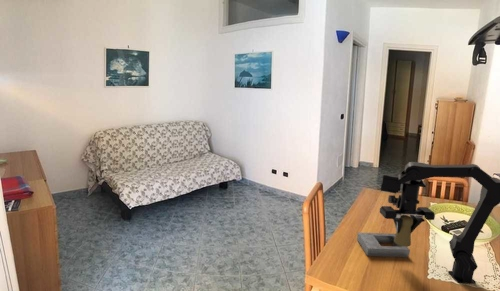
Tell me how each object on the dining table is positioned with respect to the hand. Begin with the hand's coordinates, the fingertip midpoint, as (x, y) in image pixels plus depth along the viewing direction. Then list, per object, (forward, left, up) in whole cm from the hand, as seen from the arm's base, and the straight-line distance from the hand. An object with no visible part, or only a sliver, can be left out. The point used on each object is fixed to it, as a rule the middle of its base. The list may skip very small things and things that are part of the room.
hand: (403, 233), depth 122 cm
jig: (+10, +3, -13) cm, 17 cm away
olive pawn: (0, 0, -4) cm, 4 cm away
